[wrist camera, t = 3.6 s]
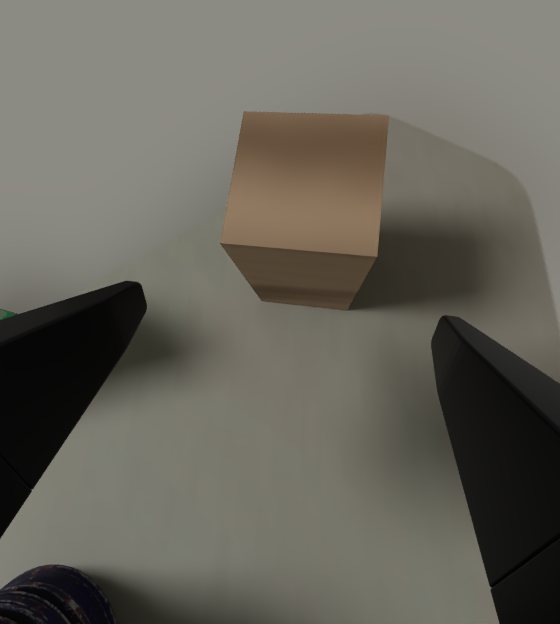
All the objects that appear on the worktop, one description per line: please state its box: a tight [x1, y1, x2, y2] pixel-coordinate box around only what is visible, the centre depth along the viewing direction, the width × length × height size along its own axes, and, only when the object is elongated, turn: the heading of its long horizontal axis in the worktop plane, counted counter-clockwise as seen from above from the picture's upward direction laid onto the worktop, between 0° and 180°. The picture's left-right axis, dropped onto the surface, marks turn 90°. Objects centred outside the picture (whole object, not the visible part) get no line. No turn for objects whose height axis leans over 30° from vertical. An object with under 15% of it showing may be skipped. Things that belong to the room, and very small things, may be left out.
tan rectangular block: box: [220, 112, 389, 310], centre depth 17 cm, size 6×6×10 cm
